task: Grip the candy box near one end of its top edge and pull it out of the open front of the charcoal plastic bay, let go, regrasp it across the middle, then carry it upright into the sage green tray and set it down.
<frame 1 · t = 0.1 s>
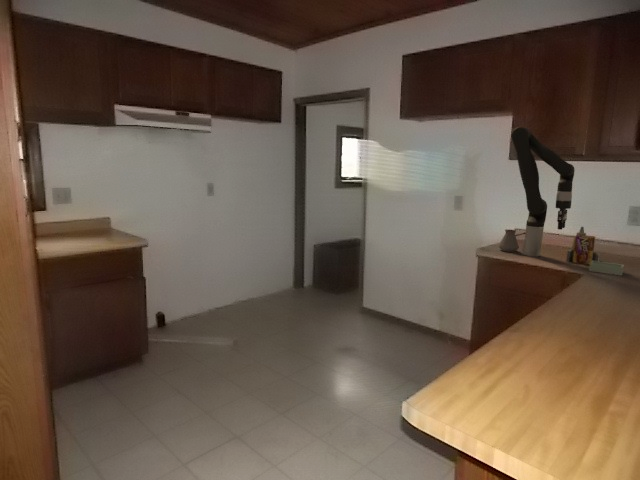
hand: (561, 228, 240), 17 cm above the counter, tool pointing down, fingers open, 8 cm apart
candy box: (582, 263, 234), on the counter
coffee pot: (516, 252, 260), on the counter
tray: (605, 271, 215), on the counter
bay: (582, 262, 234), on the counter
squeeze bottle: (578, 257, 250), on the counter
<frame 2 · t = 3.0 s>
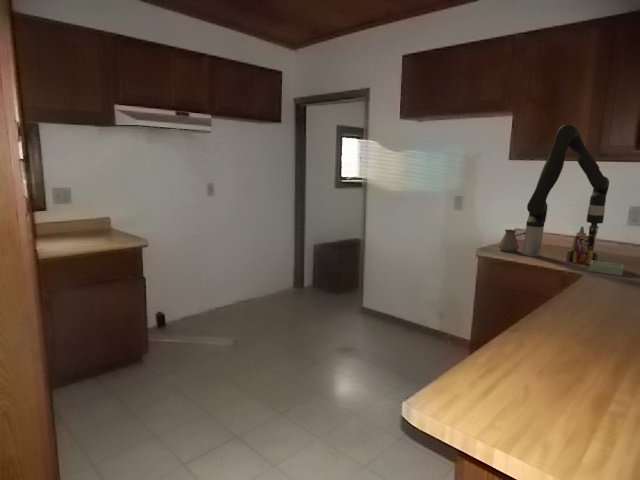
hand: (591, 245, 230), 10 cm above the counter, tool pointing down, fingers closed on candy box, 4 cm apart
candy box: (582, 263, 234), on the counter, touching gripper
everything else where it was.
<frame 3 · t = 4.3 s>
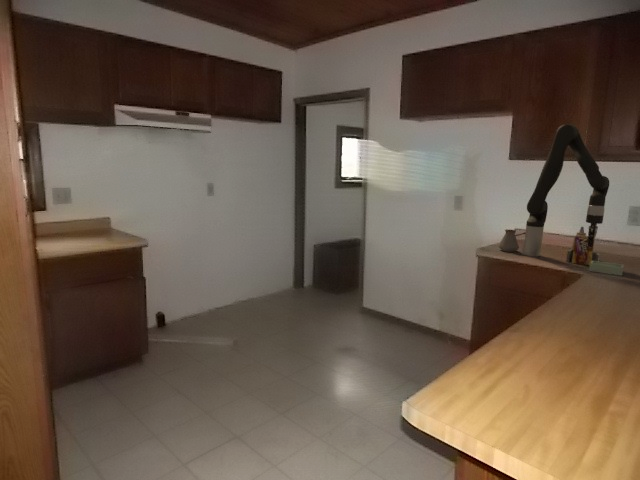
hand: (590, 245, 228), 10 cm above the counter, tool pointing down, fingers closed on candy box, 4 cm apart
candy box: (581, 263, 232), on the counter, touching gripper
everything else where it was.
when the fingers open (11 cm above the counter, at t = 5.8 s): candy box stays where it is, on the counter.
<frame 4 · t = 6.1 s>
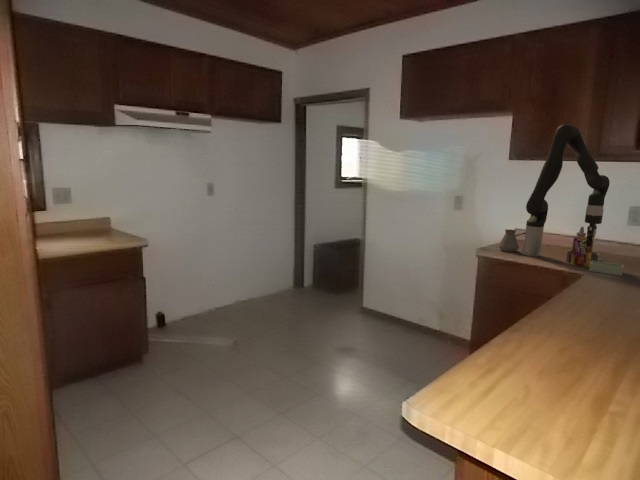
hand: (589, 245, 224), 11 cm above the counter, tool pointing down, fingers open, 7 cm apart
candy box: (580, 265, 228), on the counter
everything else where it was.
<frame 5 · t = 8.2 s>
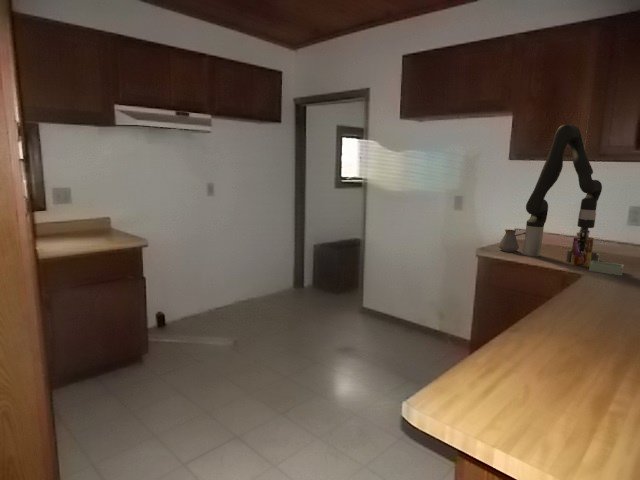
hand: (582, 250, 226), 8 cm above the counter, tool pointing down, fingers closed on candy box, 4 cm apart
candy box: (580, 265, 228), on the counter, touching gripper
everything else where it was.
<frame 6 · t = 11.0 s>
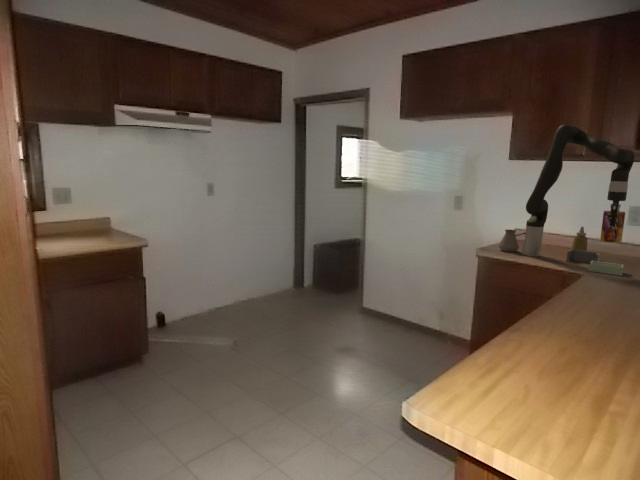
hand: (612, 225, 211), 24 cm above the counter, tool pointing down, fingers closed on candy box, 4 cm apart
candy box: (610, 242, 212), point 15 cm above the counter, touching gripper
everything else where it was.
when the fingers open (11 cm above the counter, at t = 13.7 s): candy box drops 1 cm, resting on tray.
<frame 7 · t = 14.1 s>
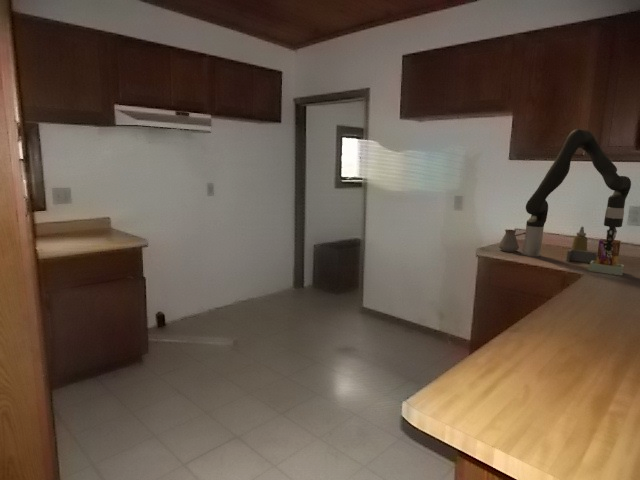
hand: (609, 249, 213), 11 cm above the counter, tool pointing down, fingers open, 7 cm apart
candy box: (605, 269, 215), point 1 cm above the counter, touching tray
everything else where it was.
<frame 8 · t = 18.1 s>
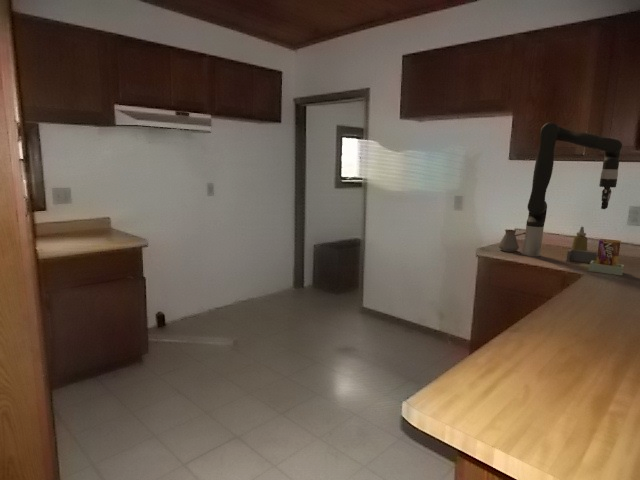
hand: (604, 208, 230), 30 cm above the counter, tool pointing down, fingers open, 8 cm apart
nothing on the counter moved.
at the end: candy box 0.3 cm off-centre on the tray, point 0.8 cm above the tray's base; candy box tilted 0°; the gripper is holding nothing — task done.
